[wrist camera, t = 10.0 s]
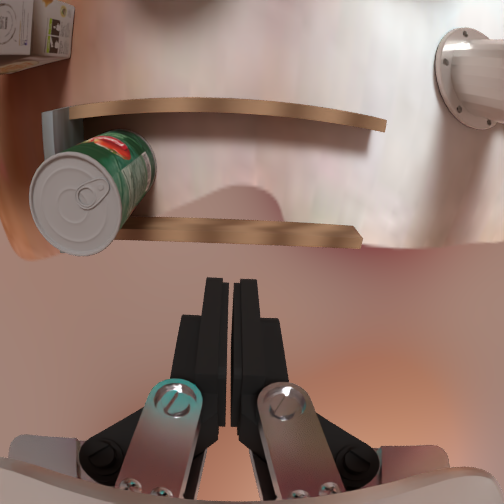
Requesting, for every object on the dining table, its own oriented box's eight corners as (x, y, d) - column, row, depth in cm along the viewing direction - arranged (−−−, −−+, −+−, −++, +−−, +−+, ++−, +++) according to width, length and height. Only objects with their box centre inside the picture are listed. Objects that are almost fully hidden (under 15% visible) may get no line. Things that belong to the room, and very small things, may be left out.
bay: (373, 116, 27) (402, 124, 22) (350, 235, 33) (370, 263, 28) (73, 105, 24) (41, 112, 19) (83, 226, 31) (60, 252, 26)
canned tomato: (110, 215, 30) (66, 271, 21) (73, 154, 27) (12, 190, 17) (171, 181, 29) (142, 229, 20) (133, 113, 25) (83, 129, 16)
